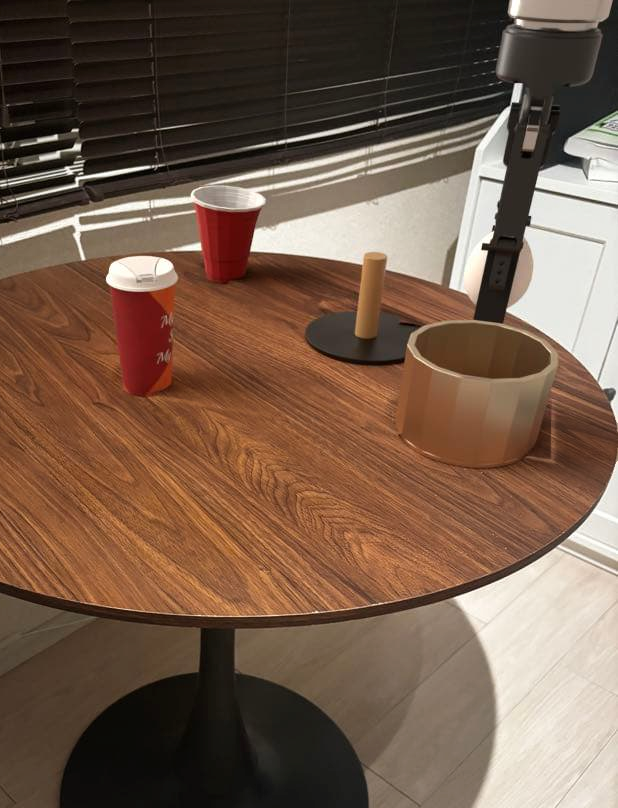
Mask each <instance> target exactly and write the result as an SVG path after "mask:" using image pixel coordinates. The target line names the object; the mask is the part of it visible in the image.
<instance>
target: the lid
mask: <svg viewBox="0 0 618 808" xmlns="http://www.w3.org/2000/svg"><path fill="white" fill-rule="evenodd" d="M387 263H388V255H387V254H386V253H383V252H379V251H369V252H366V253H364V254H363V261H362V266H361V268H362V269H361V275H360V276H361V277H360V286H359V293H358V301H357V310H350V311H349V310H348V311H339V312H332V313H328V314H325V315H322V316H319V317H317V318H315V319H313V320H312V321H311V322H309V323H308V324H307V326H306V328H305V332H304V338H305V341H306V343H307V345H309V347H310V348H311V349H312V350H314V351H315V352H317V353H319V354H320V355H322V356H324V357H327V358H330V359H333V360H336V361H339V362H344V363H349V364H353V365H354V364H355V365H363V366H364V365H365V366H385V365H394V364H400V363H404V362H405V356H406V350H407V344H408V341H409V338H410V335H411V334H412V333H413V332H415V331H416V330H418V329H420V328H421V327H420V326H418V325H416V324H415V323H410V322H402V321H401V317H399V316H395V315H392V314H387V313H383V312H382V313H381V307H382V300H383V294H384V285H385V278H386V271H387Z"/></svg>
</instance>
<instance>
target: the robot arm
mask: <svg viewBox="0 0 618 808" xmlns="http://www.w3.org/2000/svg"><path fill="white" fill-rule="evenodd" d="M613 1H614V0H509V2H508V9H507V15H508V16H509V18H511V19H513V23H512V24H508V25H507V26H506V27H505V29H504V30H502V35H501V40H500V45H499V51H498V56H497V61H496V67H495V74H496V75H495V76H497V78H498V79H500V80H501V81H504V82H507V83H512V84H523V85H525V89H524V93H523V95H522V96H521V97H520V99H519V101H518V102H517V101H515V102H514V101H512V102H511V104H510V109H509V115H508V118H507V123H506V131H507V139H506V143H505V148H504V153H503V158H502V164H503V165H504V166H505V167H506V170H505V173H504V179H503V183H502V187H501V193H500V197H499V200H498V201H497V203H496V208H497V212H496V213H495V214H494V220H495V222H494V223H495V224H492V229H491V232H493V231H494V233H493V238H492V239H491V240H490V244H489V243H482V247H481V250H484V251H488V252H487V257H486V262H485V267H484V271H483V276H482V281H481V285H480V290H479V295H478V299H477V304H476V305H475V309H474V313H473V317H472V320H478V321H485V322H493V323H500V324H504V322H505V318H506V313H507V309H508V308H507V305H508V301H509V297H510V293H511V289H512V284H513V280H514V276H515V272H516V268H517V263H518V259H519V255H520V252H521V249H523V244H524V243H523V237H525V232H526V228H527V227H530V226H531V223H532V217H533V216H532V215H530V211H531V207H532V203H533V198H534V195H535V190H536V186H537V182H538V177H539V174H540V173H539V172H540V169H542V168H543V167H544V166H545V164H546V163H547V158H548V154H549V149H550V145H551V141H552V137H553V135H554V134H555V132H556V131H557V129H558V125H559V121H560V115H561V110H560V109H561V108H560V107H561V105H560V104H553V101H554V96H555V91H556V88H558V87H560V86H561V87H568V88H569V87H578V86H582V85H585V84H587V83H588V82H589V81H590V80H591V79H592V77H593V74H594V71H595V67H596V63H597V59H598V56H599V55H598V54H599V51H600V48H601V43H602V40H603V35H604V34H603V33H602V30H601V28H598V25H599V23H601V22H604V21H605V20H607V19H608V18H609V16H610V12H611V8H612V4H613ZM507 236H508V237H507Z"/></svg>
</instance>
